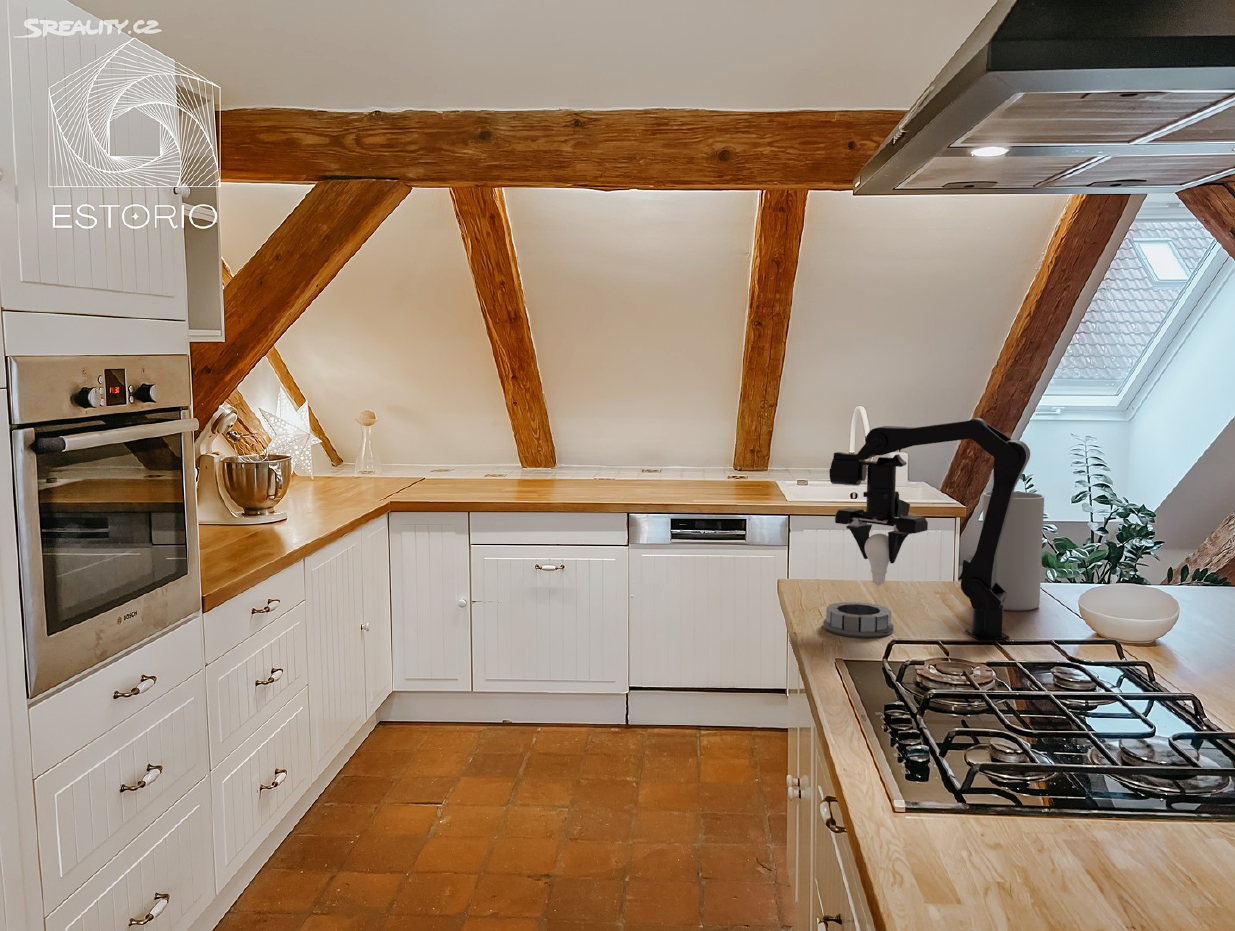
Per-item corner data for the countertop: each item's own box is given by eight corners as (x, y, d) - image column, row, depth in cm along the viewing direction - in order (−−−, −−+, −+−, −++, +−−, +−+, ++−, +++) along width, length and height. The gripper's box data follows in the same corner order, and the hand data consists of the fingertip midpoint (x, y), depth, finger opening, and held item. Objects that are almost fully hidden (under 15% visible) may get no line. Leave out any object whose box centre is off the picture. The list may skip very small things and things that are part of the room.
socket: (903, 637, 192) (904, 617, 192) (834, 638, 191) (834, 619, 191) (880, 619, 206) (880, 600, 206) (815, 620, 205) (815, 601, 205)
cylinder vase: (1047, 604, 218) (1052, 494, 216) (1026, 614, 209) (1031, 500, 207) (993, 595, 227) (997, 489, 224) (970, 605, 218) (974, 495, 215)
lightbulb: (891, 582, 206) (892, 531, 205) (895, 589, 200) (897, 536, 199) (861, 581, 207) (863, 530, 205) (865, 588, 201) (866, 536, 199)
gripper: (942, 487, 200) (939, 562, 202) (862, 479, 213) (861, 549, 215) (914, 492, 192) (912, 570, 194) (834, 484, 205) (832, 556, 207)
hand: (879, 561), depth 203 cm, fingers closed on lightbulb, 6 cm apart
